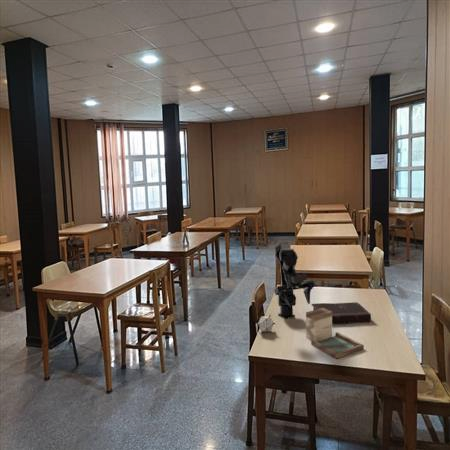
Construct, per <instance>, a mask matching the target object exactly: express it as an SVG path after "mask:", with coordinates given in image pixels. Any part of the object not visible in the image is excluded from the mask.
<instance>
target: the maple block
mask: <svg viewBox="0 0 450 450" xmlns="http://www.w3.org/2000/svg"><path fill="white" fill-rule="evenodd" d="M305 325H306V326H305V331H306V333H305V335H306V336H305V337H306V338H307V339H308V340H310V341H311V340H315V341H317V342H318V341H321V340H324V339H327V338H330V337H333V324H332V312H331V311H329V310H327V309H324V308H320V309H317V310H309V311H306V313H305Z"/></svg>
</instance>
